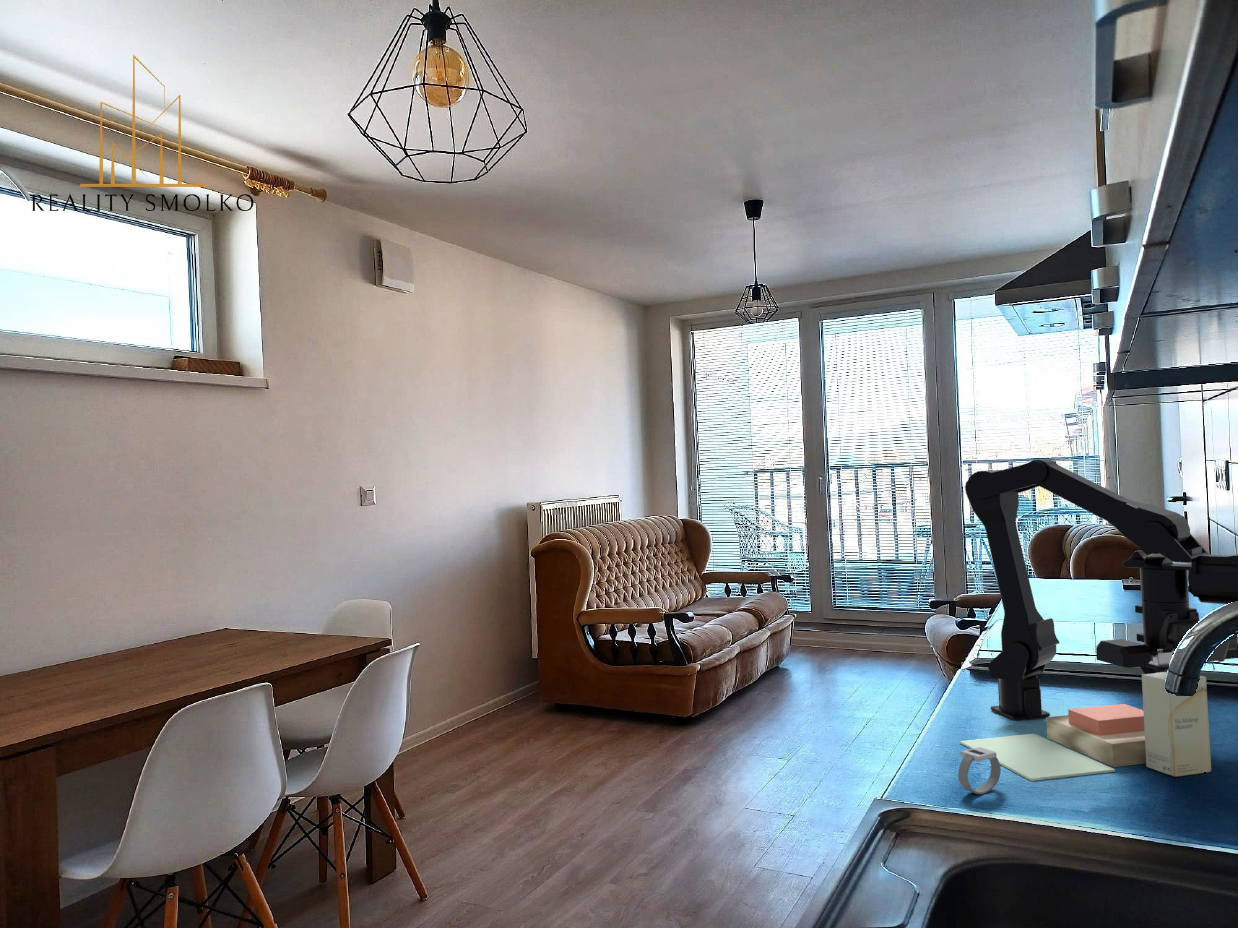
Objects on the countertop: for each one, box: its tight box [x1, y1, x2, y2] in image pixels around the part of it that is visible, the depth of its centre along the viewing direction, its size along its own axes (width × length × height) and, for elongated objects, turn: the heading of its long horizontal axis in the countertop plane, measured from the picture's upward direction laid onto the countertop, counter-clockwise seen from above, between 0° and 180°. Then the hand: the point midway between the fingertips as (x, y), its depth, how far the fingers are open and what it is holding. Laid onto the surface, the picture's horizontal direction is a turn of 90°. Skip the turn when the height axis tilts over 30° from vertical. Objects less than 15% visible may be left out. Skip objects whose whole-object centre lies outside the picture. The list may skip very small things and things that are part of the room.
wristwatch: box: [957, 747, 1002, 795], centre depth 105 cm, size 6×3×5 cm, turn 117°
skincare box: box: [1141, 672, 1212, 777], centre depth 110 cm, size 6×4×12 cm
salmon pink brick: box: [1067, 703, 1145, 736], centre depth 119 cm, size 9×6×2 cm, turn 100°
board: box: [1045, 714, 1146, 768], centre depth 119 cm, size 13×11×3 cm
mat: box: [959, 733, 1116, 782], centre depth 116 cm, size 16×12×1 cm
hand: (1170, 710), depth 120 cm, fingers closed
